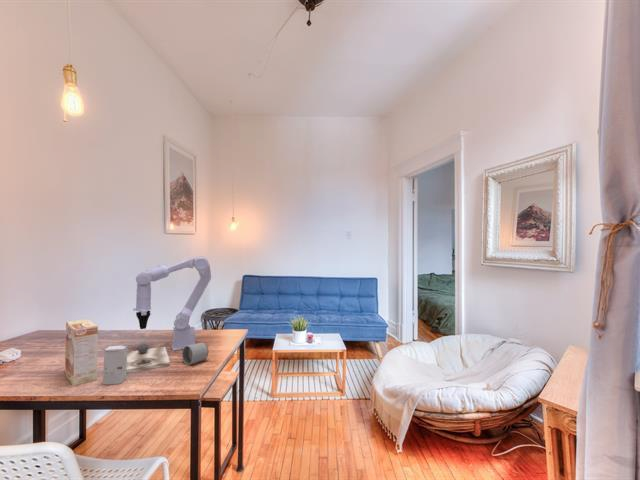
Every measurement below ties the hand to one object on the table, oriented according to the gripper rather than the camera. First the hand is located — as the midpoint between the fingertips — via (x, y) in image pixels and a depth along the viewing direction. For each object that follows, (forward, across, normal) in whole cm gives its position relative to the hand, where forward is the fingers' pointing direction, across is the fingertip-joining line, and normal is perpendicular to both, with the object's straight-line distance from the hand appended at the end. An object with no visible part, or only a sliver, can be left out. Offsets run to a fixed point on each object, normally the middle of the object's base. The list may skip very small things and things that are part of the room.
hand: (142, 328), depth 138 cm
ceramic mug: (+11, +24, +18) cm, 32 cm away
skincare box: (+11, +31, -9) cm, 34 cm away
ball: (+7, +8, 0) cm, 11 cm away
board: (+10, +14, 0) cm, 17 cm away
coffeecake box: (+11, +20, -20) cm, 30 cm away
